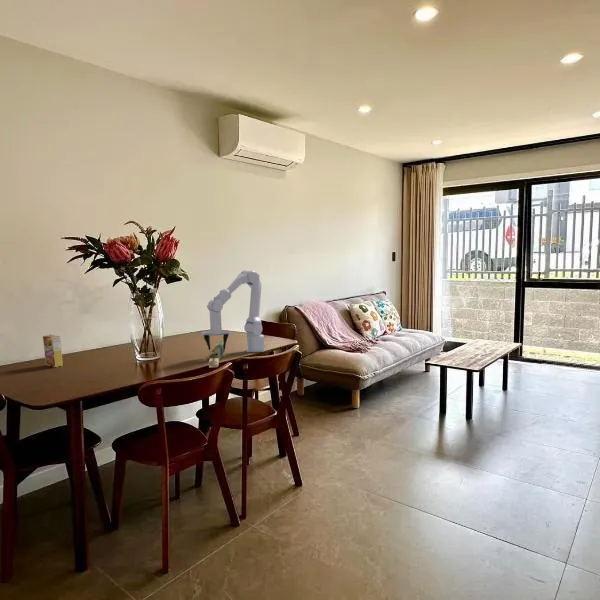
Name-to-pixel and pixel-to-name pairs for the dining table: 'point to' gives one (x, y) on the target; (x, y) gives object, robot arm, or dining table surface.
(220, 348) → the handheld radio
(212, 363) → the taped cardboard parcel
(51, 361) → the candy box
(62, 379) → the dining table surface
